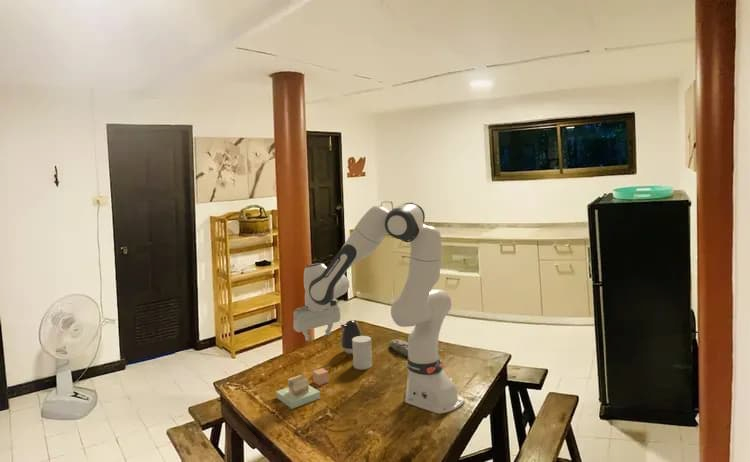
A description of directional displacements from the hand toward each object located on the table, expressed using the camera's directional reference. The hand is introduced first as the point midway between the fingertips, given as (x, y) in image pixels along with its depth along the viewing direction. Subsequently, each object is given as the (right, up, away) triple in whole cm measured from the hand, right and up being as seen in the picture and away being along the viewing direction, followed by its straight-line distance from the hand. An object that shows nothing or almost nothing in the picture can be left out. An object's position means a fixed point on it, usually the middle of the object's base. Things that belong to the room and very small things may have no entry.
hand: (318, 337), depth 193 cm
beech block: (-6, -18, -12) cm, 22 cm away
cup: (+17, -16, +17) cm, 29 cm away
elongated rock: (+41, -14, +25) cm, 50 cm away
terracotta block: (+1, -19, +2) cm, 19 cm away
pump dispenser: (+12, -14, +33) cm, 38 cm away
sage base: (-6, -21, -11) cm, 24 cm away
